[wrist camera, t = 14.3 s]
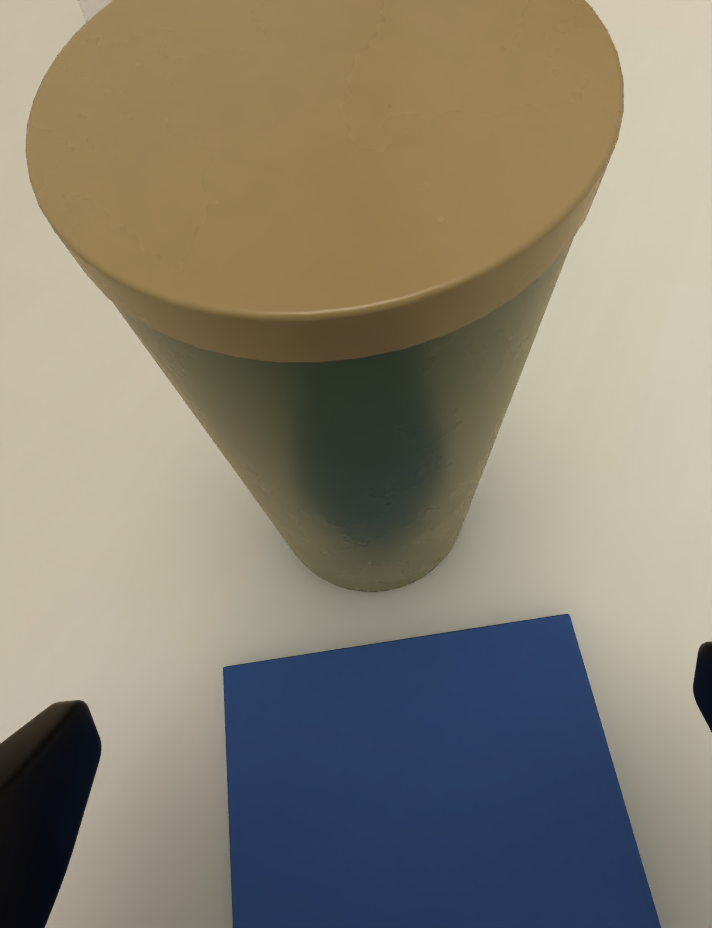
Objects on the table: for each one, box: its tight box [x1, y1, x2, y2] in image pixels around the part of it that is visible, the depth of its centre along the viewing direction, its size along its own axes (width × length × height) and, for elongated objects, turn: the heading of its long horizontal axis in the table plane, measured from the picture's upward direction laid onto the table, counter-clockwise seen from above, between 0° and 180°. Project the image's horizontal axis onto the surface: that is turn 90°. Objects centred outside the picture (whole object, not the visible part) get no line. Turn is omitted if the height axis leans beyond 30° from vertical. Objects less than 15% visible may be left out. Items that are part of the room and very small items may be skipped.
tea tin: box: [26, 0, 624, 591], centre depth 11 cm, size 6×6×13 cm
